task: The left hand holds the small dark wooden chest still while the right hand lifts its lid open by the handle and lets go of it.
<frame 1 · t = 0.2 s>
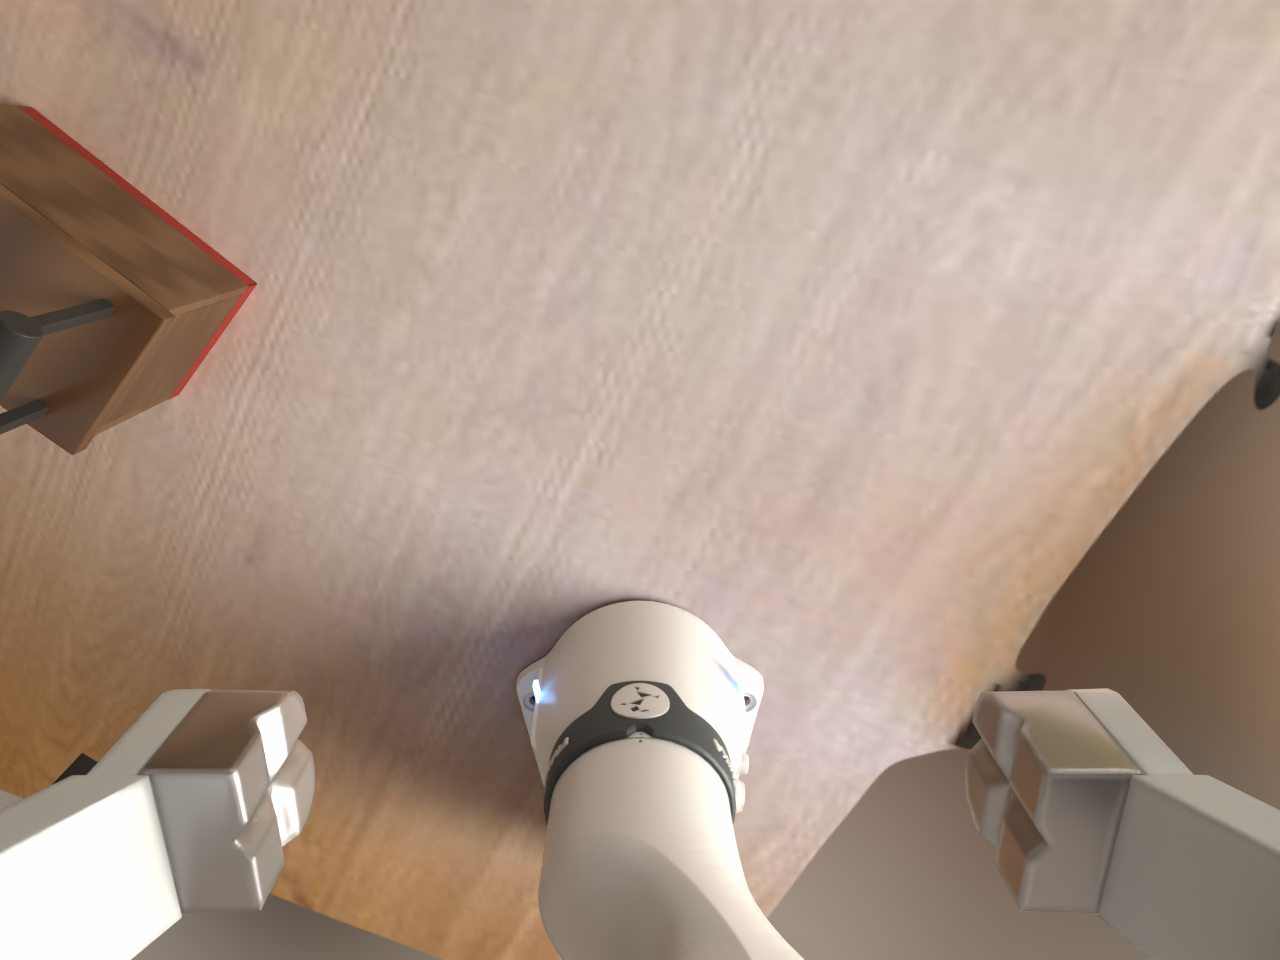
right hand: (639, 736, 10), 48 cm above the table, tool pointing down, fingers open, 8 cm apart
chest: (109, 259, 55), on the table
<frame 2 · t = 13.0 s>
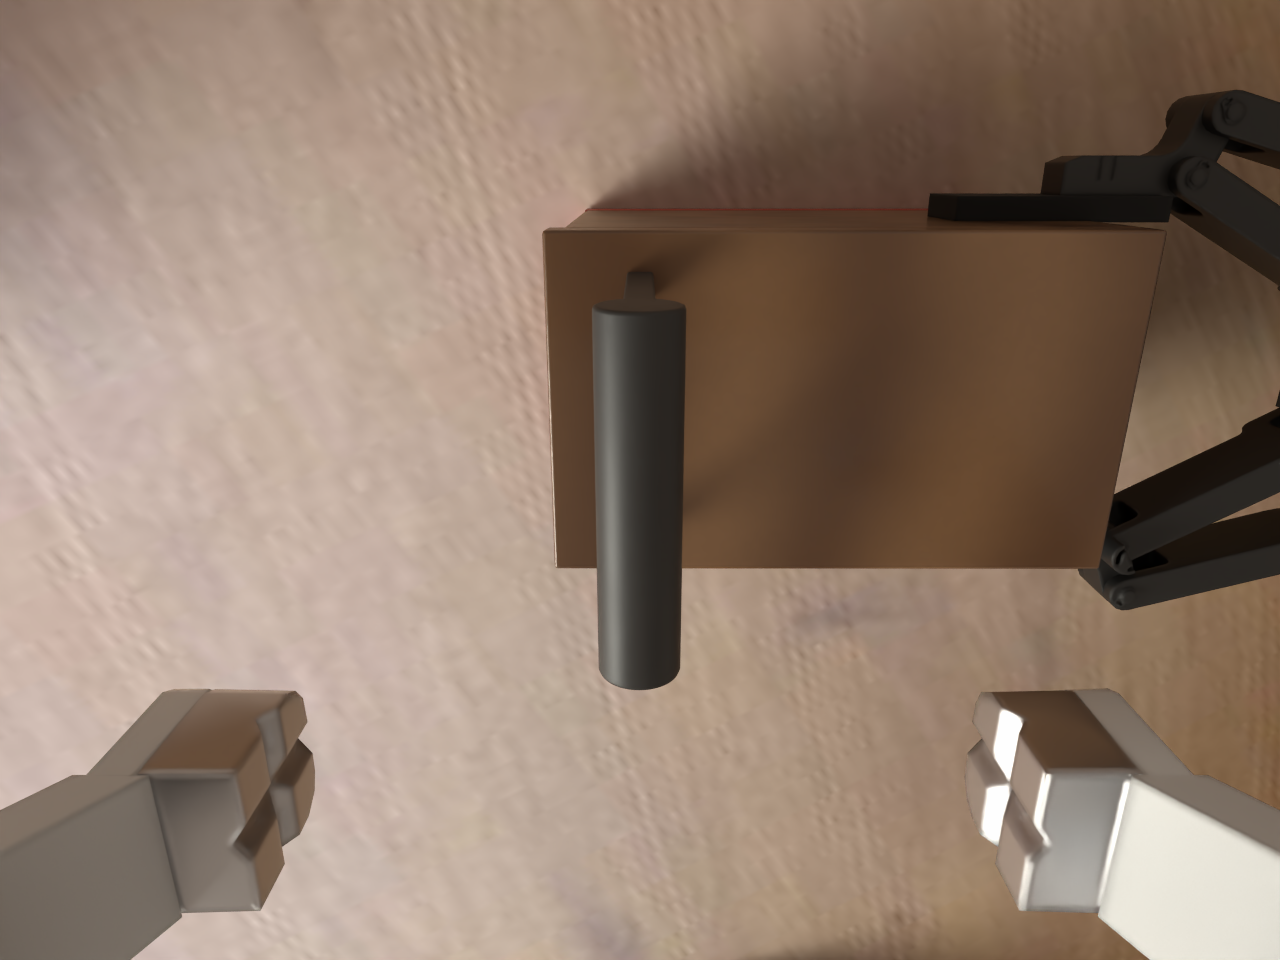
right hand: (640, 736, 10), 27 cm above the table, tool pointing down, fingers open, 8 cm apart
lid: (868, 447, 21), point 16 cm above the table, hinge at 0.0°
chest: (781, 332, 36), on the table, touching left hand
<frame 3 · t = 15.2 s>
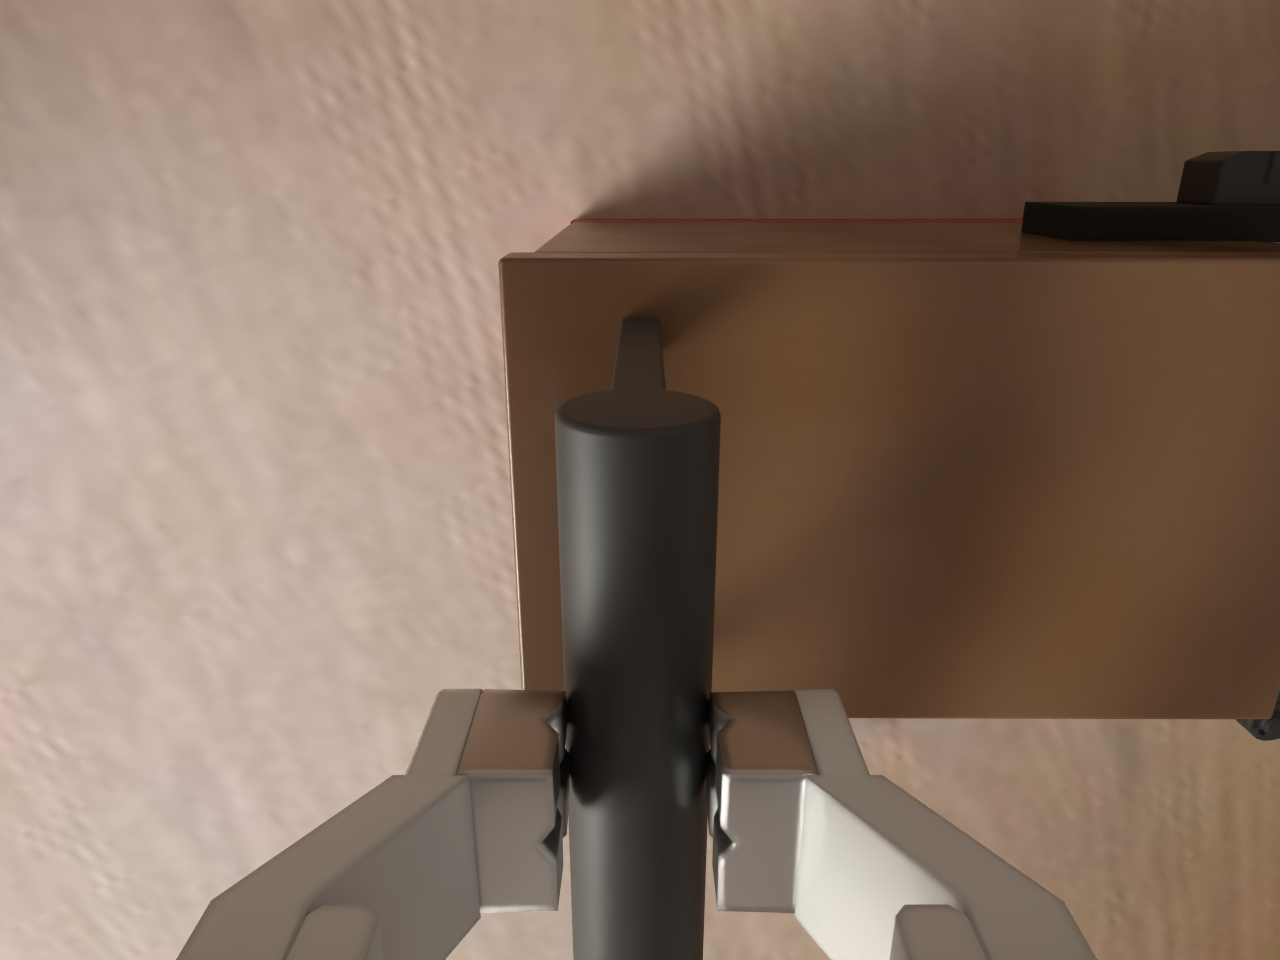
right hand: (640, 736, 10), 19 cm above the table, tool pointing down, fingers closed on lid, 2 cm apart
lid: (983, 587, 14), point 16 cm above the table, hinge at -0.1°, touching right hand
chest: (816, 373, 29), on the table, touching left hand
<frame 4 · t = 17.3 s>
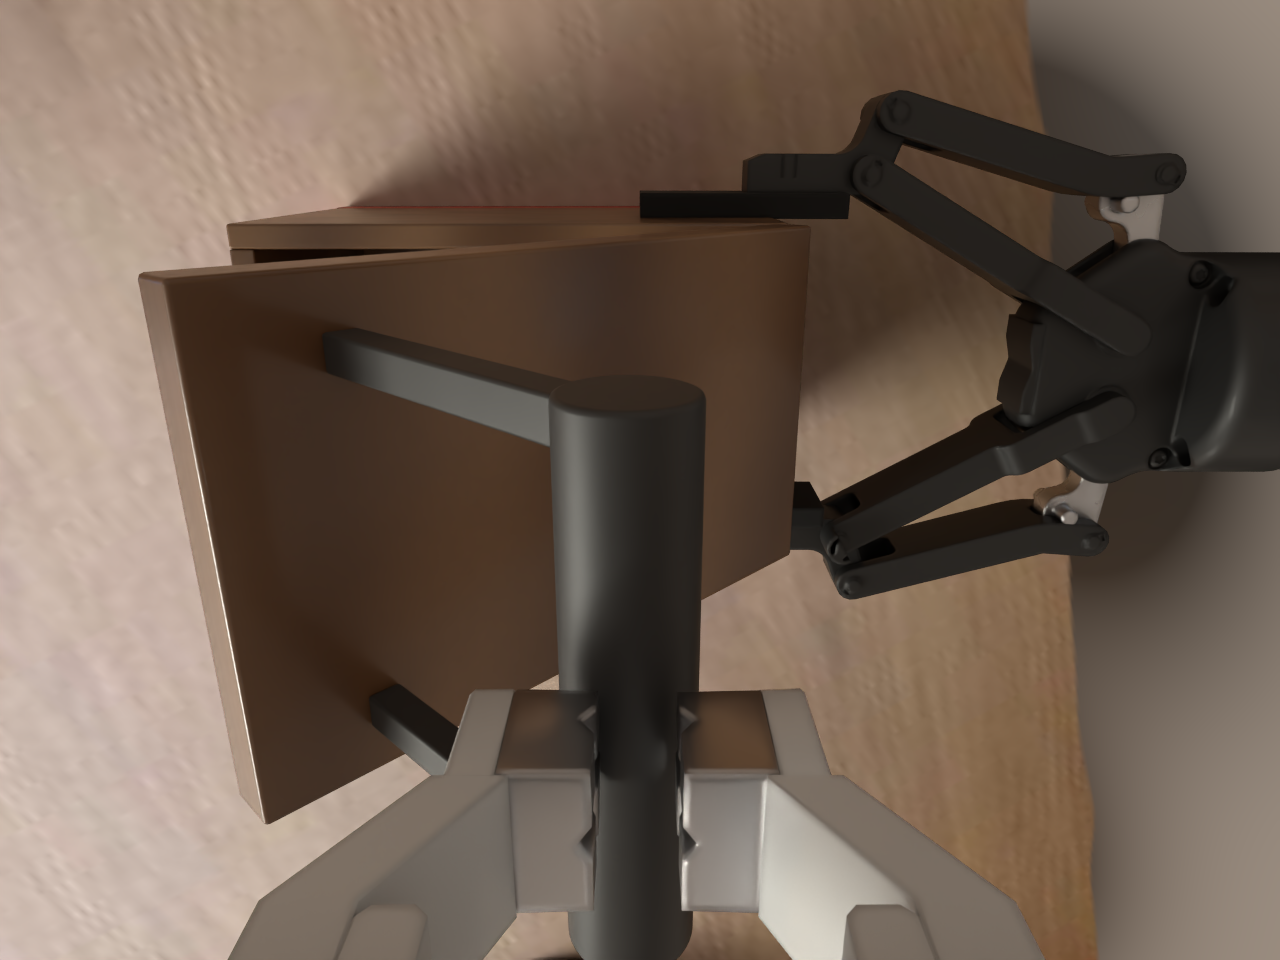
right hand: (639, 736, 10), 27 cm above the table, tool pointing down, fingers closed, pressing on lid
left hand: (639, 363, 30), fingers closed on chest, 10 cm apart
lid: (702, 505, 17), point 20 cm above the table, hinge at 45.1°, touching right hand
chest: (550, 328, 36), on the table, touching left hand
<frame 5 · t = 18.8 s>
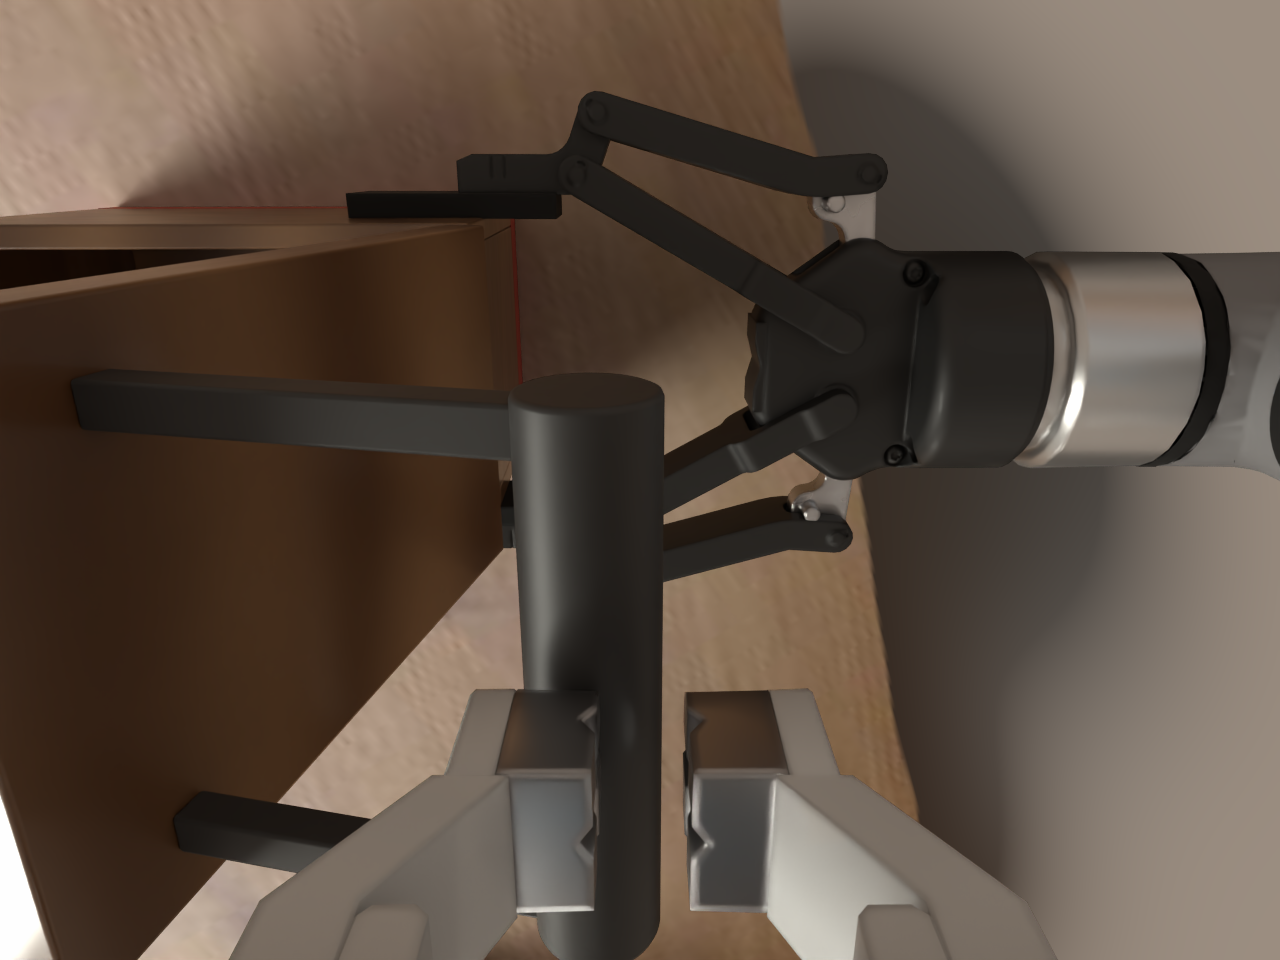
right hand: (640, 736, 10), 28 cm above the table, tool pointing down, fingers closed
left hand: (376, 363, 30), fingers closed on chest, 10 cm apart
lid: (496, 508, 17), point 21 cm above the table, hinge at 76.2°, touching right hand
chest: (331, 328, 36), on the table, touching left hand
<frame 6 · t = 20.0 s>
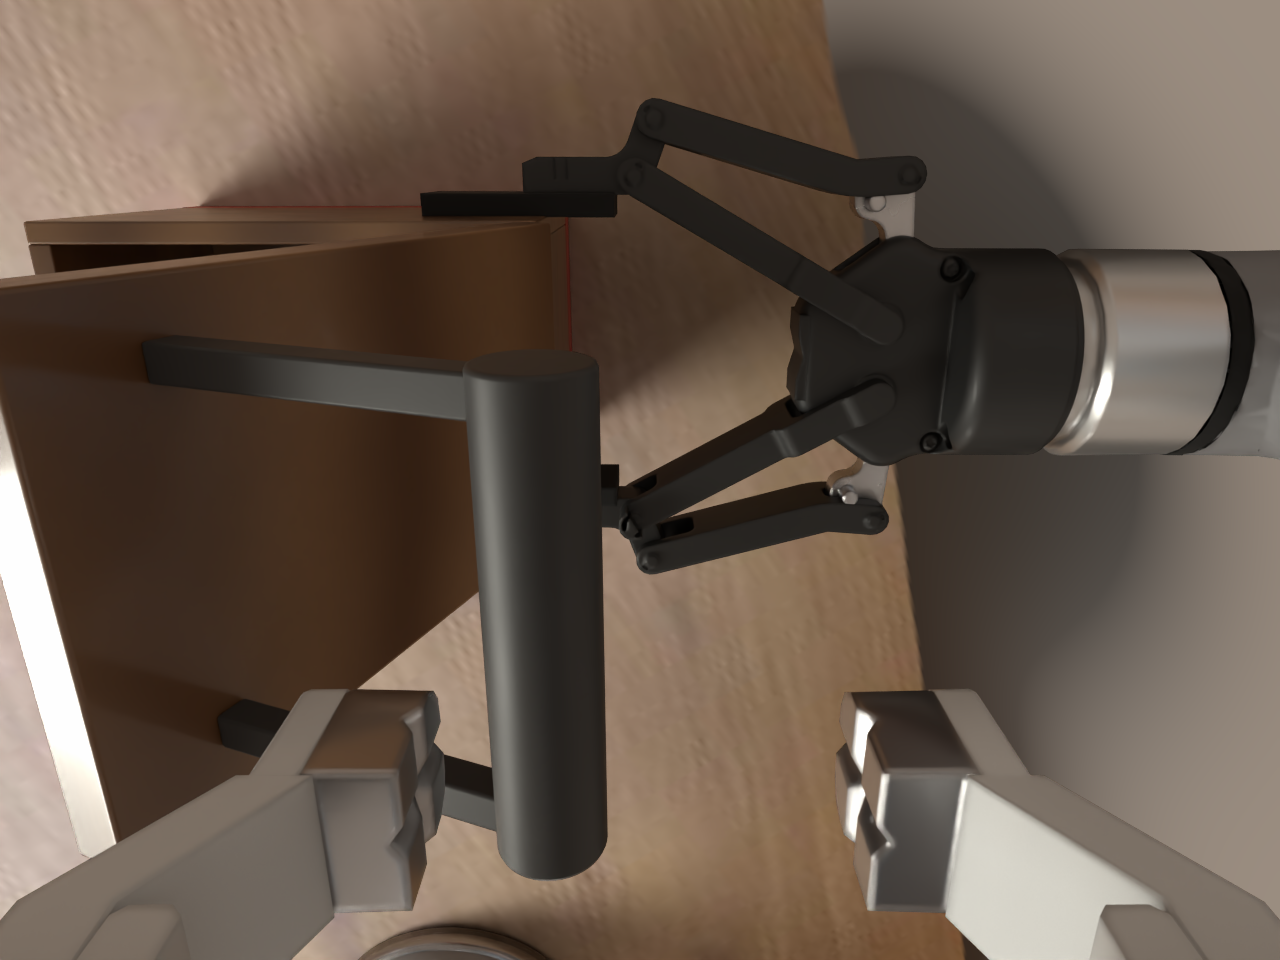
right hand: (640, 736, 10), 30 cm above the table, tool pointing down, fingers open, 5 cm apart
left hand: (442, 351, 32), fingers closed on chest, 10 cm apart
lid: (519, 477, 19), point 21 cm above the table, hinge at 68.5°
chest: (393, 321, 38), on the table, touching left hand
when the left hand's fingers open (7 cm above the table, at t = 22.9 s): chest stays where it is, on the table.
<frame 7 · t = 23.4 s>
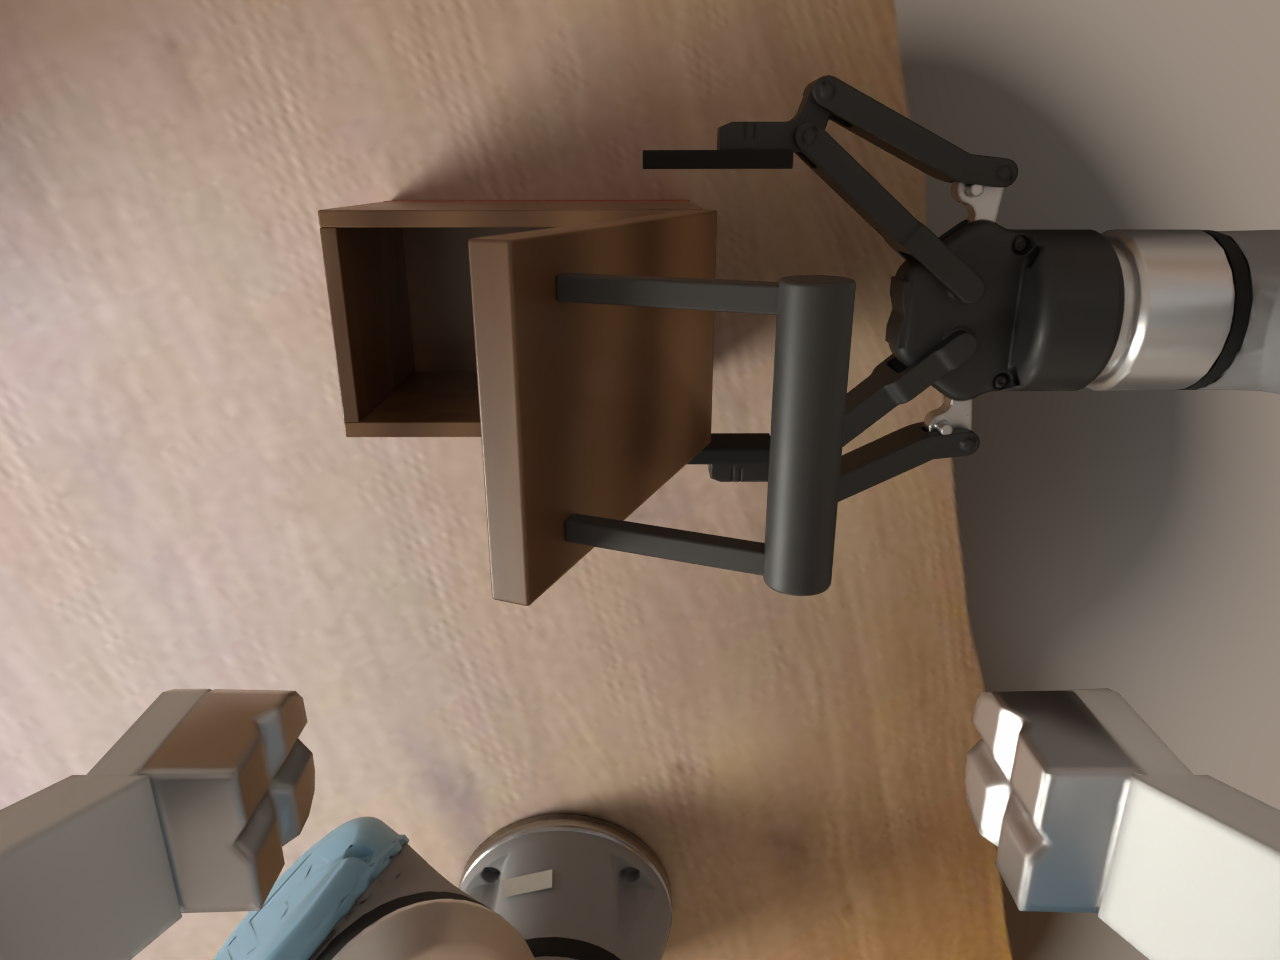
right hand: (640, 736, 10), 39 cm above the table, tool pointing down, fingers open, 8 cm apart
left hand: (642, 312, 41), fingers open, 13 cm apart
lid: (733, 380, 28), point 21 cm above the table, hinge at 67.7°
chest: (542, 293, 47), on the table
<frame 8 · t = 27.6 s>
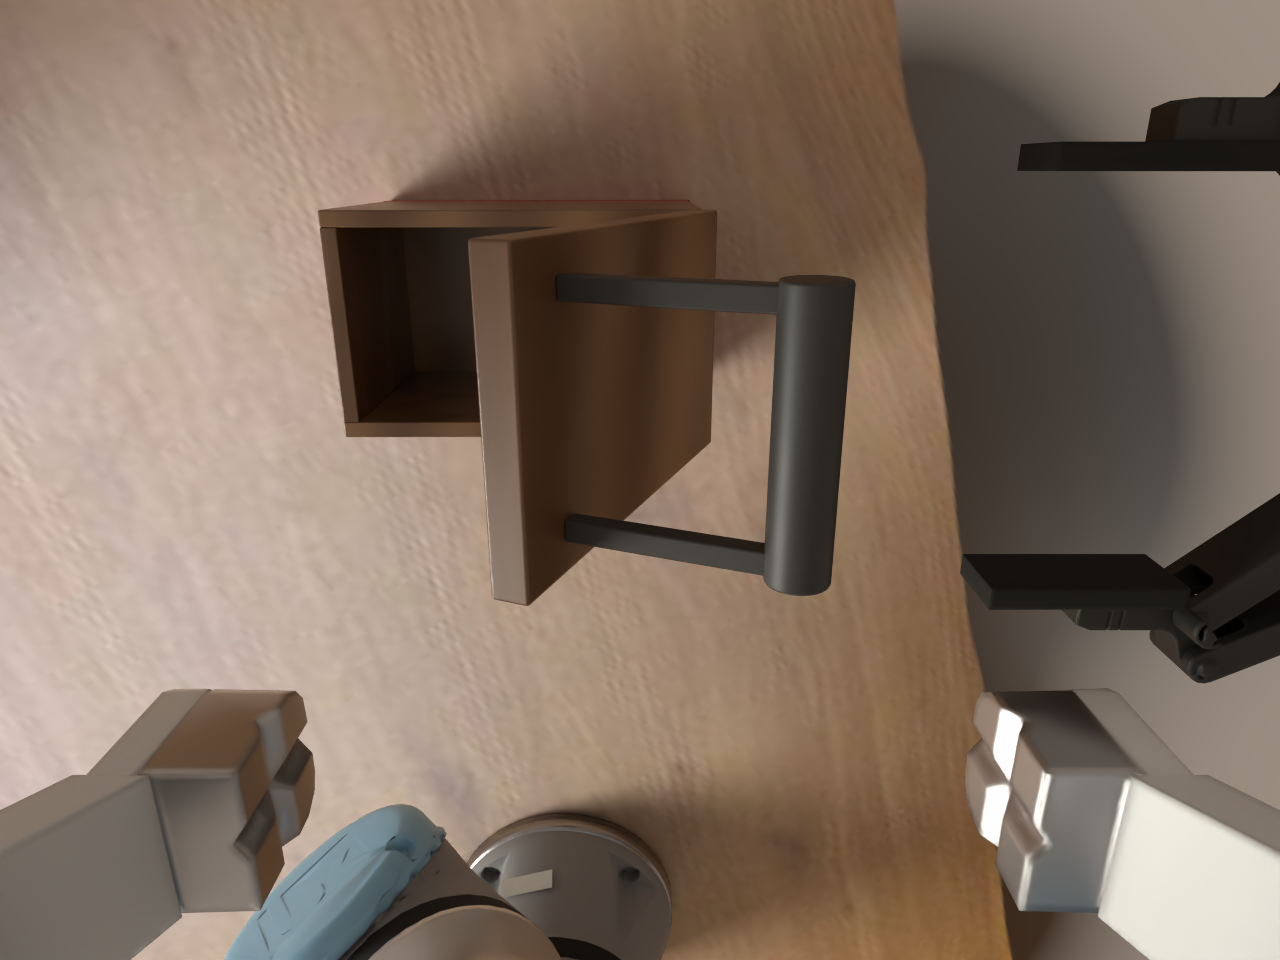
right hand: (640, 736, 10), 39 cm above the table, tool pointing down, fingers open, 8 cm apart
left hand: (1002, 387, 27), fingers open, 13 cm apart
lid: (733, 380, 28), point 21 cm above the table, hinge at 67.7°
chest: (542, 293, 47), on the table
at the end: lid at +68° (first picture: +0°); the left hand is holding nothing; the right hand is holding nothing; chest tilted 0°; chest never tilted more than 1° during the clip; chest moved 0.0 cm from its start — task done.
